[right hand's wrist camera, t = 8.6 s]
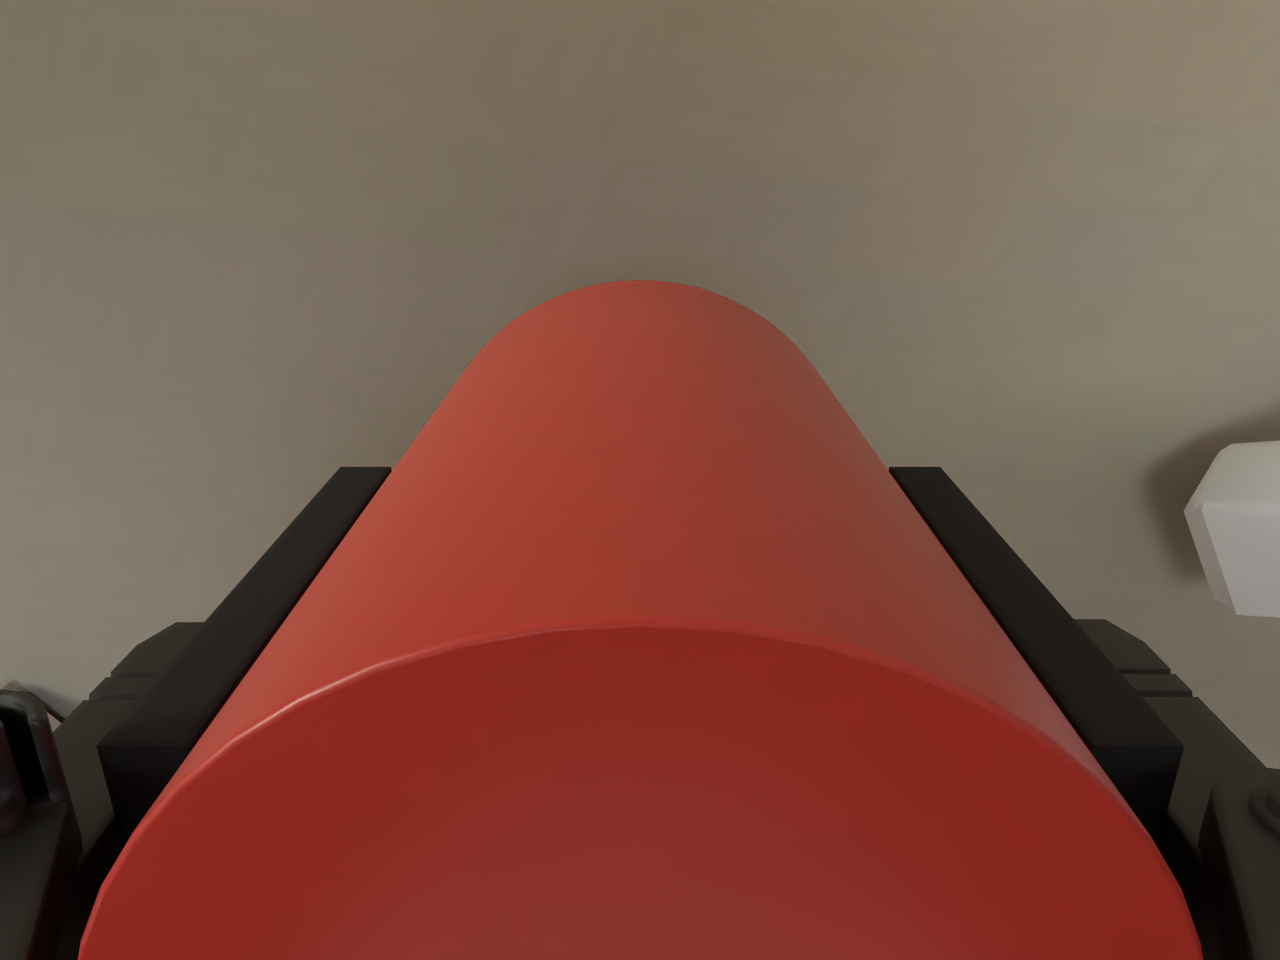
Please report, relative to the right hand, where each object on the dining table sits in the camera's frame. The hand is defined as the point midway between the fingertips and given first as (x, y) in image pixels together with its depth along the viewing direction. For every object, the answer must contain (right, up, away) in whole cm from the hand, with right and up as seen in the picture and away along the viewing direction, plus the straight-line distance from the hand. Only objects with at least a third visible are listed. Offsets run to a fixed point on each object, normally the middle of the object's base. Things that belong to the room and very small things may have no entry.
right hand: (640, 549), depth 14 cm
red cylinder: (0, +1, +2) cm, 3 cm away
